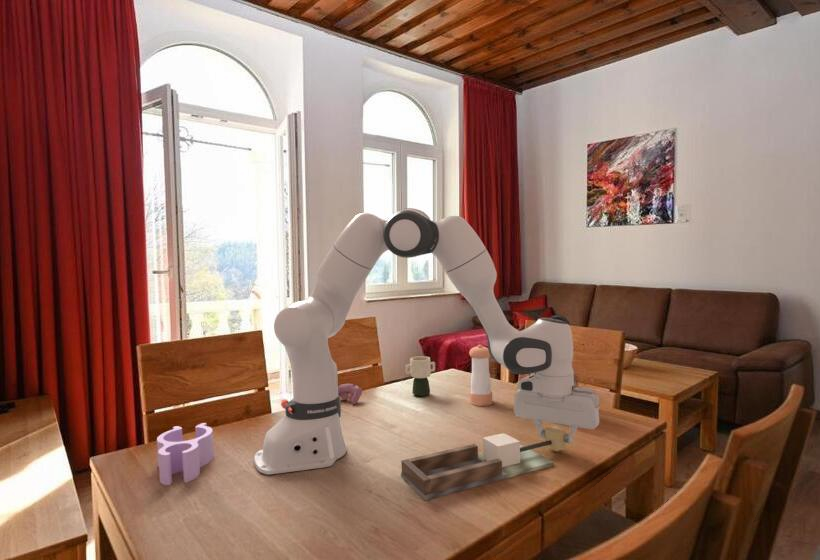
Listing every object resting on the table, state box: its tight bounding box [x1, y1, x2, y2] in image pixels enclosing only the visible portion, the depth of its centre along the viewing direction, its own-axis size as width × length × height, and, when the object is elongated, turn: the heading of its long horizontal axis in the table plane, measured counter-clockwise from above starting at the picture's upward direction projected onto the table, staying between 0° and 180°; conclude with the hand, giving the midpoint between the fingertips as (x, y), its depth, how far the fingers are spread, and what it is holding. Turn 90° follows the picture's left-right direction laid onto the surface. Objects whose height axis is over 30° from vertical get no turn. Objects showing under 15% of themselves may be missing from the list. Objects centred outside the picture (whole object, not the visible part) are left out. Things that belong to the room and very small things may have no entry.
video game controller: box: [338, 383, 363, 406], centre depth 167 cm, size 10×5×7 cm, turn 59°
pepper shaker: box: [468, 344, 493, 407], centre depth 160 cm, size 7×7×19 cm
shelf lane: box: [400, 443, 555, 501], centre depth 110 cm, size 33×12×4 cm, turn 115°
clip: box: [156, 422, 215, 486], centre depth 118 cm, size 20×12×7 cm, turn 16°
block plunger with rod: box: [482, 425, 567, 467], centre depth 116 cm, size 20×6×5 cm, turn 115°
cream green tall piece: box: [405, 355, 436, 397], centre depth 171 cm, size 11×7×13 cm, turn 107°
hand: (555, 439), depth 120 cm, fingers closed on block plunger with rod, 5 cm apart
